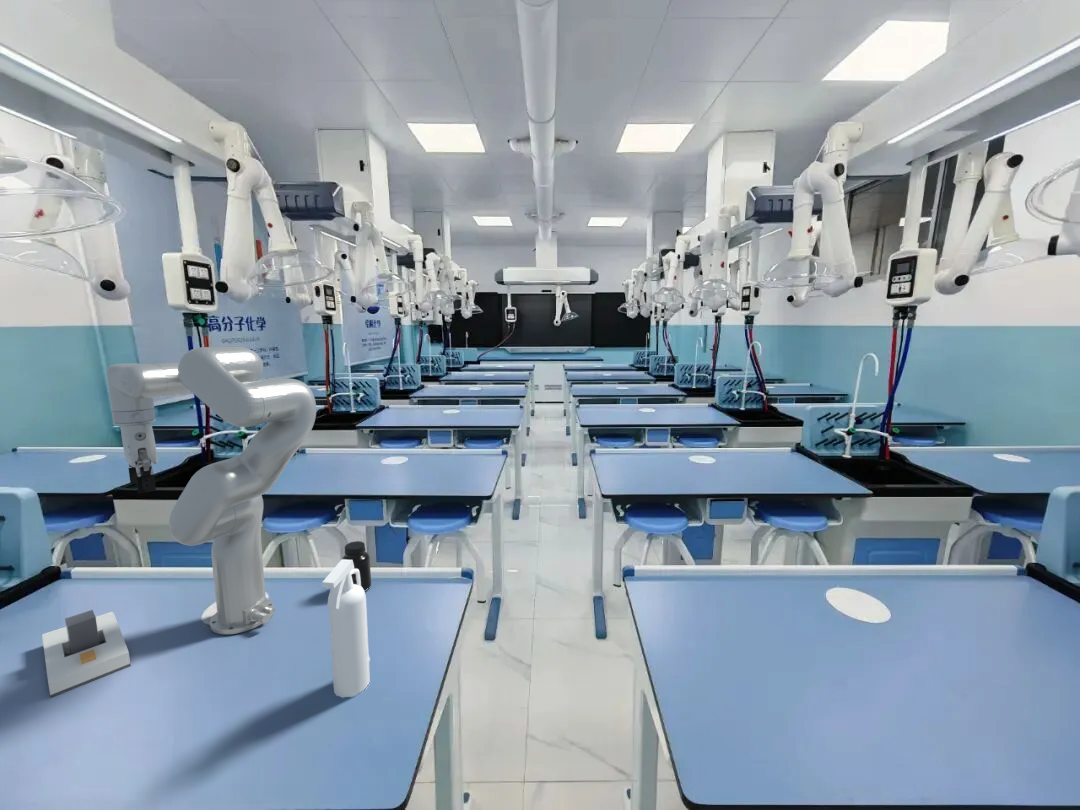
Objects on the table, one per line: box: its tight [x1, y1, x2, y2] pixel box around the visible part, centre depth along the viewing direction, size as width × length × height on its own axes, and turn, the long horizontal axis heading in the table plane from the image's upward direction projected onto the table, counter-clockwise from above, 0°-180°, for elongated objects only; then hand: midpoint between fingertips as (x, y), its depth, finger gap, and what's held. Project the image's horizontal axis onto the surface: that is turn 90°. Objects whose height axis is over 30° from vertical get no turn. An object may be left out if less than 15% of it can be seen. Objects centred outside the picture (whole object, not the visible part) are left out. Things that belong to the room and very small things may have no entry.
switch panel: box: [41, 611, 131, 698], centre depth 95 cm, size 20×11×4 cm, turn 48°
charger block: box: [64, 609, 100, 655], centre depth 94 cm, size 4×4×8 cm
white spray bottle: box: [321, 558, 371, 697], centre depth 87 cm, size 7×12×25 cm, turn 173°
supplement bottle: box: [341, 540, 372, 590], centre depth 120 cm, size 7×7×12 cm
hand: (143, 487), depth 112 cm, fingers open, 9 cm apart
